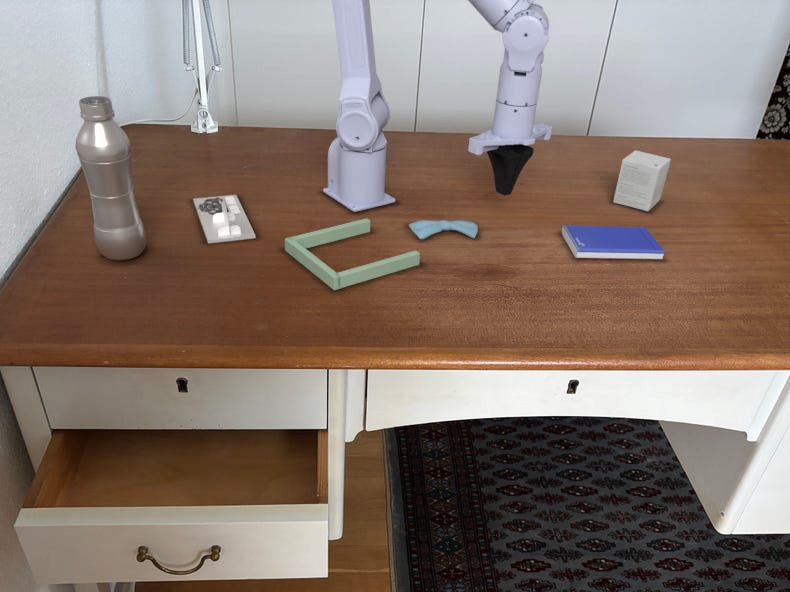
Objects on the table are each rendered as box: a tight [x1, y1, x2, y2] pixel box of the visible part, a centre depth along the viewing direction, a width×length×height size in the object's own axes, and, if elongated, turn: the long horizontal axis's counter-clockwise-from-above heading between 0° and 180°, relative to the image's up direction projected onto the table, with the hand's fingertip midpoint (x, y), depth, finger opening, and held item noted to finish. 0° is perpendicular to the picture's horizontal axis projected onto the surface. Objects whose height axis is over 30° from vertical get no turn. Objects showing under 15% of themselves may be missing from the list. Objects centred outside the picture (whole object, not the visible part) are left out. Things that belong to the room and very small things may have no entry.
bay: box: [284, 217, 421, 291], centre depth 97 cm, size 13×14×2 cm
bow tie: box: [408, 219, 479, 240], centre depth 105 cm, size 10×2×5 cm
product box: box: [612, 150, 672, 212], centre depth 116 cm, size 6×6×7 cm
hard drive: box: [561, 224, 665, 260], centre depth 103 cm, size 2×8×12 cm
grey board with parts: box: [192, 194, 257, 244], centre depth 105 cm, size 15×7×4 cm, turn 20°
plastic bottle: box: [74, 95, 147, 261], centre depth 90 cm, size 6×7×20 cm
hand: (503, 192), depth 109 cm, fingers closed
